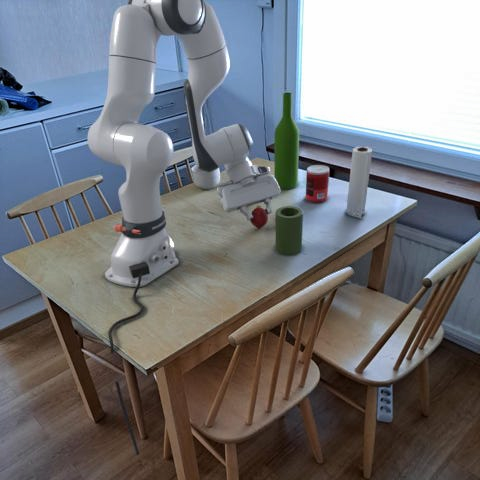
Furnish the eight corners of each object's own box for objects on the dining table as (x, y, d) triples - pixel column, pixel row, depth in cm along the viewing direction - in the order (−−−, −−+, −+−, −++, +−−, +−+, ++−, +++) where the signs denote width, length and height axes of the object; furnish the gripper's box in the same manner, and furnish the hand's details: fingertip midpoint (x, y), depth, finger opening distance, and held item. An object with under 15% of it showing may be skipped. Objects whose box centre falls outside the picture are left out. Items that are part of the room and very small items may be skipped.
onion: (271, 227, 151) (271, 205, 146) (259, 234, 148) (259, 211, 143) (257, 221, 154) (258, 199, 149) (246, 228, 151) (246, 205, 146)
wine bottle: (302, 184, 178) (305, 92, 158) (287, 191, 173) (289, 97, 153) (284, 178, 183) (285, 89, 163) (269, 185, 178) (269, 94, 158)
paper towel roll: (348, 207, 160) (355, 145, 147) (366, 210, 158) (374, 146, 145) (343, 216, 155) (349, 152, 142) (361, 219, 153) (369, 154, 140)
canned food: (330, 196, 168) (333, 166, 161) (321, 204, 163) (323, 174, 156) (311, 192, 172) (313, 163, 165) (301, 200, 166) (303, 170, 160)
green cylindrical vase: (296, 257, 136) (297, 219, 128) (271, 252, 139) (271, 215, 131) (305, 245, 141) (307, 208, 134) (281, 240, 144) (281, 204, 137)
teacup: (217, 192, 176) (215, 171, 171) (189, 191, 178) (187, 170, 173) (225, 178, 187) (224, 158, 182) (199, 177, 189) (197, 158, 184)
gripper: (217, 180, 142) (235, 221, 141) (272, 165, 150) (289, 204, 149) (211, 189, 148) (229, 229, 147) (265, 174, 155) (281, 212, 155)
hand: (260, 216), depth 148 cm, fingers closed on onion, 5 cm apart
